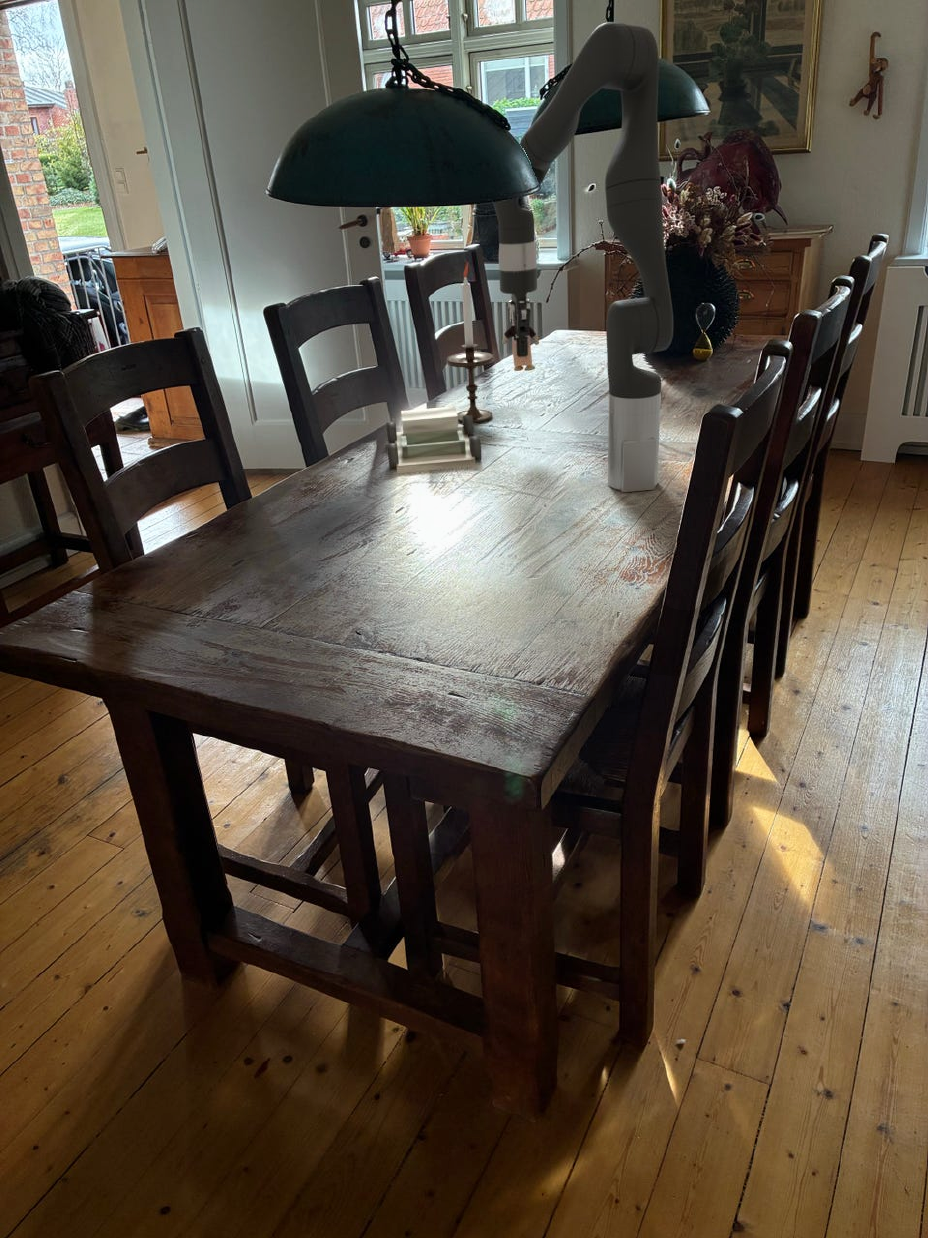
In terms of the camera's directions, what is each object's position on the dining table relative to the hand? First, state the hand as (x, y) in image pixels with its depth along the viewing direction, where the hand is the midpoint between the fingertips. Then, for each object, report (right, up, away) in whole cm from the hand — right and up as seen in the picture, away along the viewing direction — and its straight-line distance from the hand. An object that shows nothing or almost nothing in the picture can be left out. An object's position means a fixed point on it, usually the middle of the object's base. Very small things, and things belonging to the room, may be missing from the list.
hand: (520, 353), depth 191 cm
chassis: (-18, -19, +6) cm, 27 cm away
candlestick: (-10, -8, +27) cm, 30 cm away
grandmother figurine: (0, -3, +1) cm, 3 cm away
